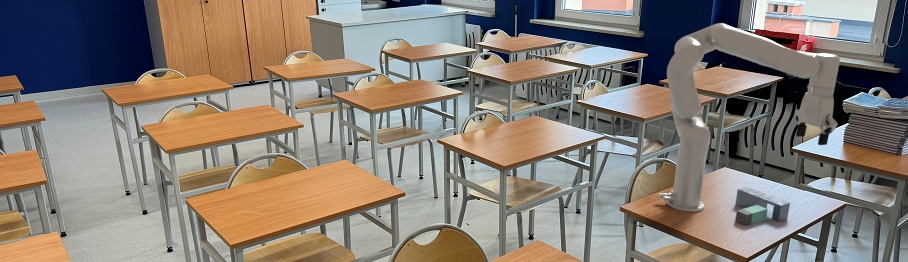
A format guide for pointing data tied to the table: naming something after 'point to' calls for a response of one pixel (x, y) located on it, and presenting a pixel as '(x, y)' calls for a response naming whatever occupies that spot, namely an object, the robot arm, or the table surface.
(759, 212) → the plug
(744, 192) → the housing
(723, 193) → the table surface
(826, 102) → the robot arm
